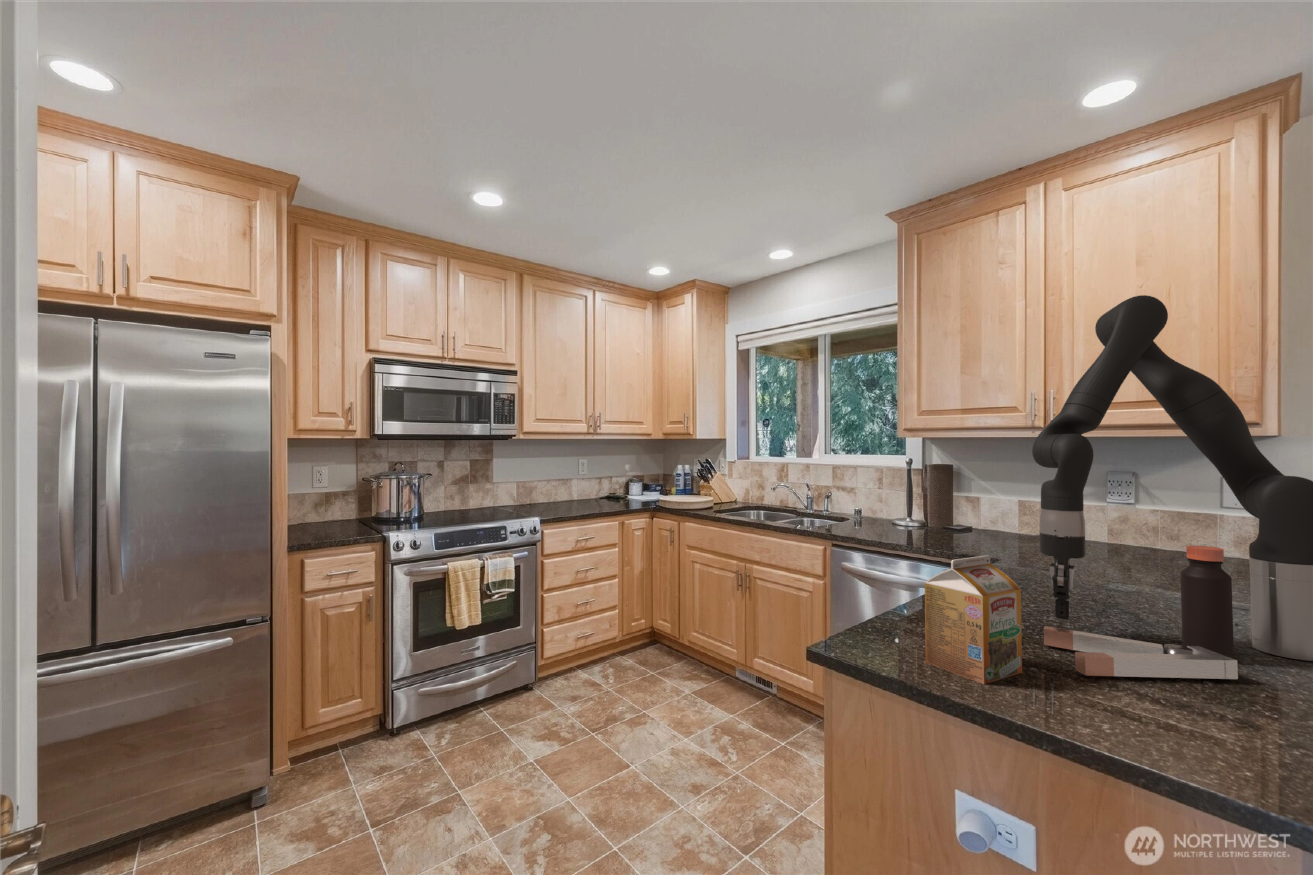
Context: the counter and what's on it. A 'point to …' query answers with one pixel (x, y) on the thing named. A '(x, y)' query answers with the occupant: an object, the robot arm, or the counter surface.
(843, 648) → the counter surface
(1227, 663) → the tongs fixed leg
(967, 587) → the milk carton
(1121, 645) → the leg
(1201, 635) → the bottle
